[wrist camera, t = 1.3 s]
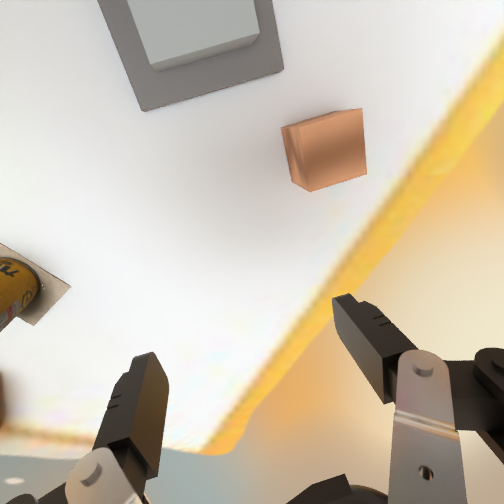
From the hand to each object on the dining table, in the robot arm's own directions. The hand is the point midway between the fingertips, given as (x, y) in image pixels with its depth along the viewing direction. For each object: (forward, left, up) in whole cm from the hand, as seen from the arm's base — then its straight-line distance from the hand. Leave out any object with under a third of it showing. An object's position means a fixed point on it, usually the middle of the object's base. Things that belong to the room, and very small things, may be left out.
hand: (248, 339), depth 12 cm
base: (-18, +3, -22) cm, 29 cm away
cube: (-3, +12, -22) cm, 26 cm away
